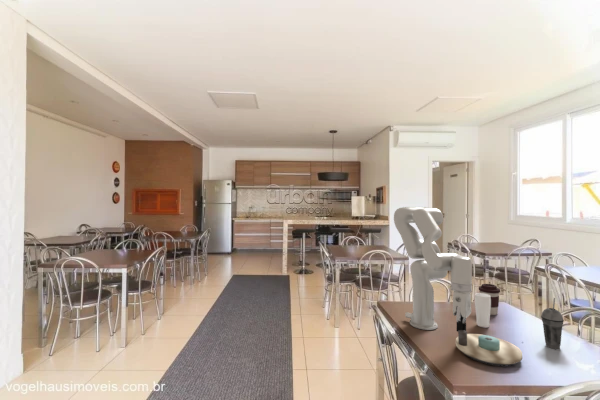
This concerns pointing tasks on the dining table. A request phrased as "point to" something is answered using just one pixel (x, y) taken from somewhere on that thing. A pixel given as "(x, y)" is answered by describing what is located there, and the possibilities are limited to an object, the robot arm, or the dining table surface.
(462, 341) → the turntable plate
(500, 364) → the base
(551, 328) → the beverage cup
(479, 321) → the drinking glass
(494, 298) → the coffee cup
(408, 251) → the robot arm
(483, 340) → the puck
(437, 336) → the dining table surface
